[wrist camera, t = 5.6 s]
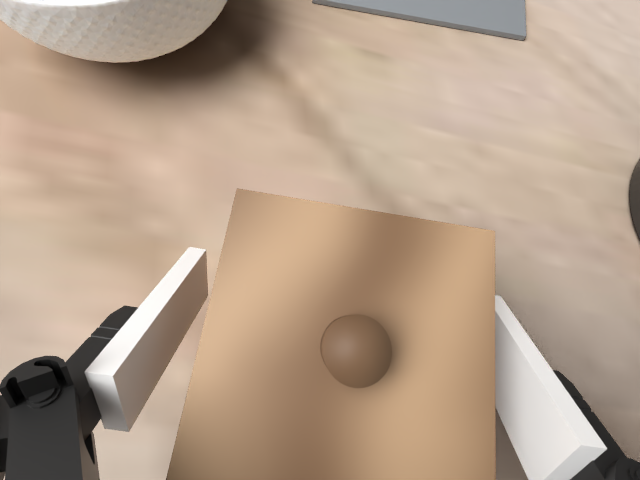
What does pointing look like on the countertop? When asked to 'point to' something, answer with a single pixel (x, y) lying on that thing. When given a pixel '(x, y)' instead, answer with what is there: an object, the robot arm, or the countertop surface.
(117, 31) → the cereal bowl
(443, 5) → the slate mat
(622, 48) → the countertop surface
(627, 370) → the countertop surface
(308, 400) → the walnut cover
